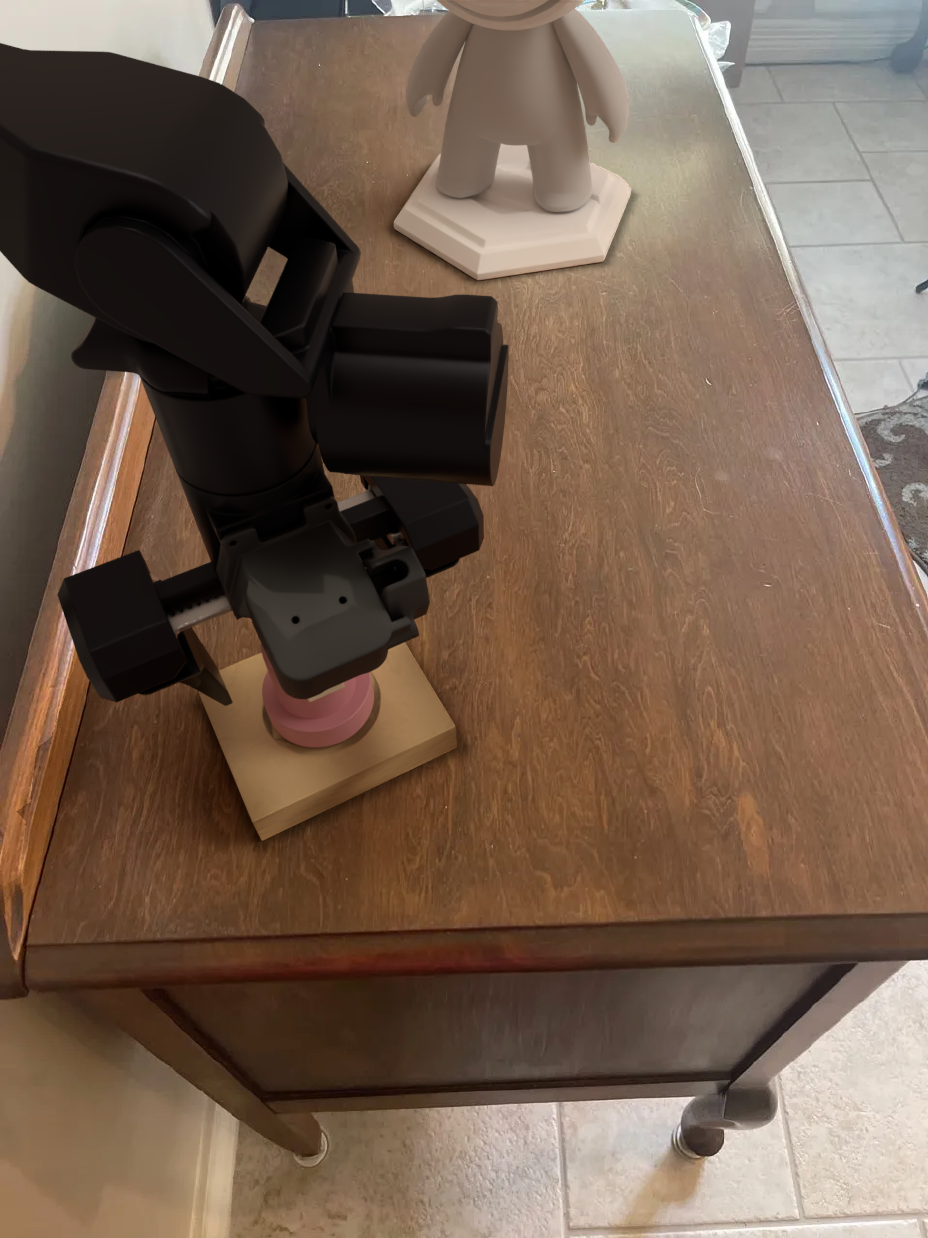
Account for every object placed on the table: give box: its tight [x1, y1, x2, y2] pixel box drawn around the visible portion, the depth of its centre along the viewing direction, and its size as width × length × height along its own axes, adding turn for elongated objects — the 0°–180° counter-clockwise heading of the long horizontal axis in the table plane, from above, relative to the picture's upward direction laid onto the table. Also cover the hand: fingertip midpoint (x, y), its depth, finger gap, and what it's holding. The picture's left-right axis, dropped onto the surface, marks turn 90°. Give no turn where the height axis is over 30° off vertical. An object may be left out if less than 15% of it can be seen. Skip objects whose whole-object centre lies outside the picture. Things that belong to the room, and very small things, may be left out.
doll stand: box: [197, 642, 458, 842], centre depth 53 cm, size 12×10×2 cm
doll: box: [260, 643, 374, 748], centre depth 48 cm, size 6×6×10 cm
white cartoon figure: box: [393, 0, 632, 281], centre depth 73 cm, size 20×23×35 cm
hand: (308, 662), depth 49 cm, fingers open, 9 cm apart
